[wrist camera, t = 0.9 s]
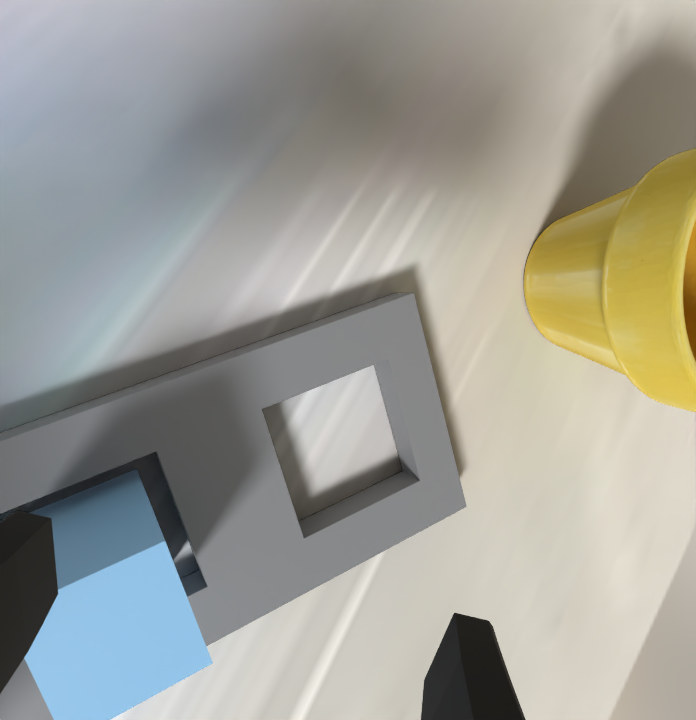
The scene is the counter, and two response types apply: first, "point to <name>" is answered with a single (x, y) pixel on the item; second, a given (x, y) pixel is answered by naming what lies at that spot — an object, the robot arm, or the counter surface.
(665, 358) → the plant pot
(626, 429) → the counter surface
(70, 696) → the plug
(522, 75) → the counter surface
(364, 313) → the holder plate
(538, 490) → the counter surface
